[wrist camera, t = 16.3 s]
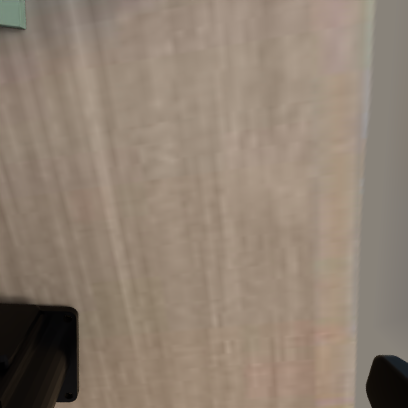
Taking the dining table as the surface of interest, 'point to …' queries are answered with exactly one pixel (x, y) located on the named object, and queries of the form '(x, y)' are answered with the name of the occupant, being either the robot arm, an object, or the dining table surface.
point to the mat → (12, 13)
